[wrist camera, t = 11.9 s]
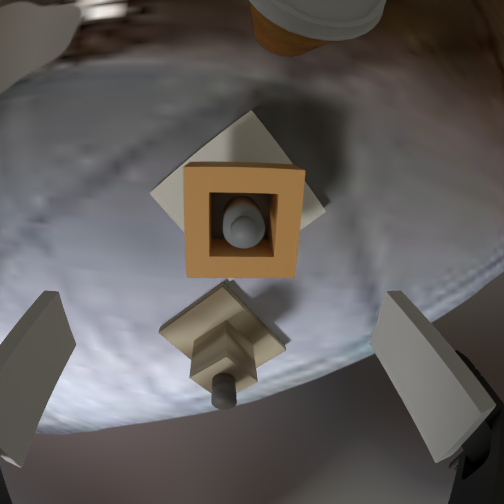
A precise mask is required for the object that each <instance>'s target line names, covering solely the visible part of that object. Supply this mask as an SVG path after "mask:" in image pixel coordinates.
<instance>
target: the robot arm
mask: <svg viewBox="0 0 504 504" xmlns="http://www.w3.org/2000/svg"><path fill="white" fill-rule="evenodd" d="M370 345H371V347H372V348H373V350H374V352H375V353H376V355H377V357H378V358H379V360H380V362H381V363H382V365H383V367H384V369H385V370H386V372H387V374H388V375H389V377H390V379H391V381H392V382H393V384H394V386H395V387H396V389H397V391H398V393H399V395H400V396H401V398H402V400H403V402H404V404H405V405H406V407H407V409H408V411H409V413H410V414H411V417H412V418H413V420H414V422H415V424H416V426H417V428H418V429H419V431H420V433H421V435H422V437H423V439H424V441H425V443H426V445H427V447H428V449H429V451H430V453H431V455H432V457H433V459H434V461H435V462H436V463H437V462H439V461H441V460H443V459H445V458H447V457H449V456H451V455H452V454H453V453H454V452H455V451H456V450H457V449H458V448H459V447H460V446H462V448H463V452H461V454H459V455H458V457H456V458H455V459H454V460H453V461H452V462H451V463H450V465H449V468H452V467H453V466H454V465H455V464H456V463H457V462H458V461H459V462H458V465H457V466H456V467H455V468H454V469H455V470H457V472H456V476H455V480H454V484H453V488H452V492H451V495H450V499H449V502H448V504H504V403H503V402H502V401H501V400H500V399H499V397H498V396H497V395H496V393H495V392H494V391H493V389H492V388H491V387H490V386H489V384H488V383H487V382H486V380H485V379H484V378H483V376H481V374H480V373H479V371H478V370H477V369H475V366H474V365H473V364H472V363H471V361H470V360H469V359H468V358H467V357H466V356H464V355H463V354H461V353H460V352H459V351H457V350H456V351H454V350H453V349H452V347H451V346H450V345H449V344H448V342H447V341H446V340H445V339H444V338H443V337H442V335H441V334H440V333H439V332H438V331H437V330H436V329H435V327H434V326H433V325H432V324H431V323H430V322H429V321H428V319H427V318H426V317H425V316H424V315H423V314H422V313H421V312H420V311H419V309H418V308H417V307H416V306H415V305H414V304H413V303H412V302H411V301H410V300H409V299H408V298H407V296H406V295H405V294H404V293H403V292H402V291H387V292H386V294H385V297H384V301H383V304H382V307H381V311H380V314H379V317H378V320H377V323H376V327H375V330H374V333H373V336H372V338H371V341H370ZM75 346H76V343H75V340H74V337H73V335H72V332H71V329H70V326H69V323H68V320H67V317H66V314H65V311H64V308H63V305H62V302H61V298H60V295H59V292H57V291H44V292H43V293H42V294H41V295H40V296H39V297H38V299H37V300H36V301H35V302H34V303H33V304H32V306H31V307H30V308H29V309H28V310H27V312H26V313H25V314H24V315H23V316H22V318H21V319H20V320H19V321H18V323H17V324H16V325H15V326H14V328H13V329H12V330H11V331H10V333H9V334H8V335H7V337H6V338H5V339H4V341H3V342H2V343H1V345H0V455H1V456H2V457H3V458H4V459H5V460H6V461H8V462H10V463H12V464H14V465H16V466H18V467H20V468H22V465H23V462H24V459H25V456H26V454H27V451H28V448H29V446H30V443H31V440H32V438H33V435H34V433H35V430H36V428H37V426H38V423H39V421H40V418H41V416H42V414H43V411H44V409H45V407H46V405H47V402H48V400H49V398H50V396H51V394H52V392H53V390H54V387H55V385H56V383H57V381H58V379H59V377H60V375H61V373H62V371H63V369H64V367H65V365H66V363H67V361H68V359H69V357H70V356H71V354H72V352H73V350H74V348H75ZM0 504H12V501H11V498H10V496H9V493H8V490H7V487H6V484H5V481H4V478H3V475H2V471H1V468H0Z"/></svg>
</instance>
